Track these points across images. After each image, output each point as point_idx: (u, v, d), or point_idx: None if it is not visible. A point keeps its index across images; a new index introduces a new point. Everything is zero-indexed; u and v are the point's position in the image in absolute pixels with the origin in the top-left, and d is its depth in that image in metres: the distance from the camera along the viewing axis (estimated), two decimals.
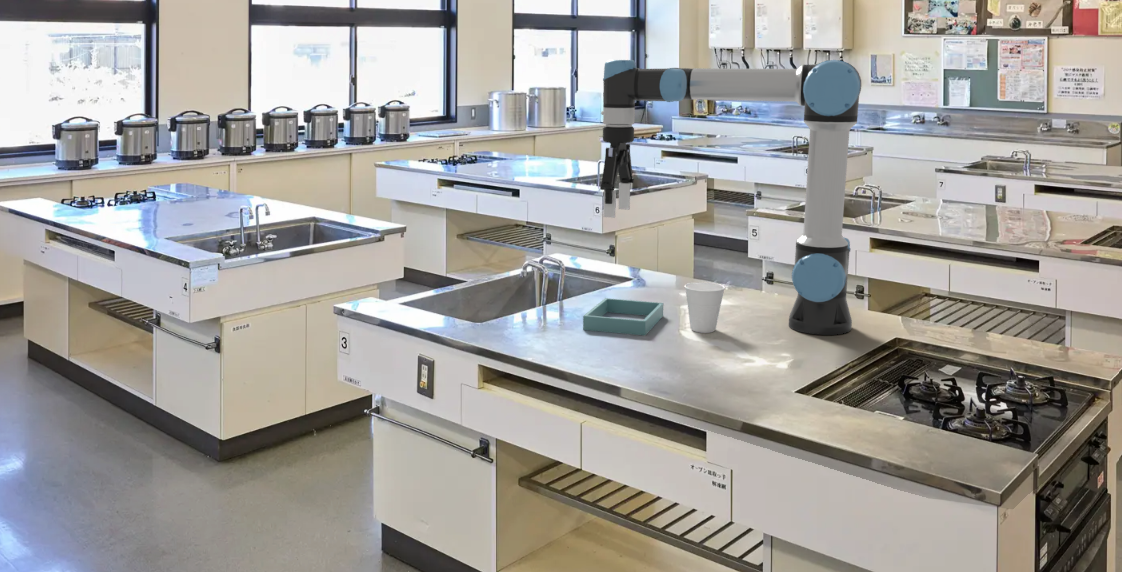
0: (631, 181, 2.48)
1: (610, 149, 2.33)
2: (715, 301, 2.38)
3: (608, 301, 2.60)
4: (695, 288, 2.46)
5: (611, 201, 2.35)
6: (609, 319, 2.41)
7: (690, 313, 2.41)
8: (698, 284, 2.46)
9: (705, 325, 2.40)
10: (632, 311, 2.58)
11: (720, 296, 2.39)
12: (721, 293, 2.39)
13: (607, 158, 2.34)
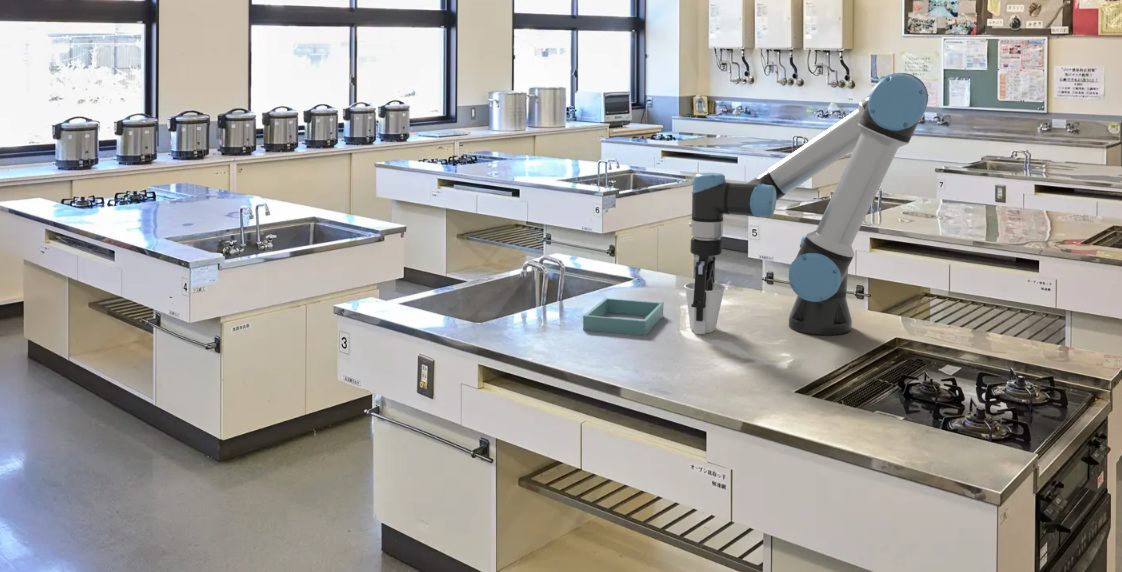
0: None
1: (700, 268, 2.34)
2: (715, 301, 2.38)
3: (608, 301, 2.60)
4: None
5: (702, 318, 2.37)
6: (609, 319, 2.41)
7: (690, 313, 2.41)
8: None
9: None
10: (632, 311, 2.58)
11: (720, 296, 2.39)
12: (721, 293, 2.39)
13: (697, 276, 2.35)
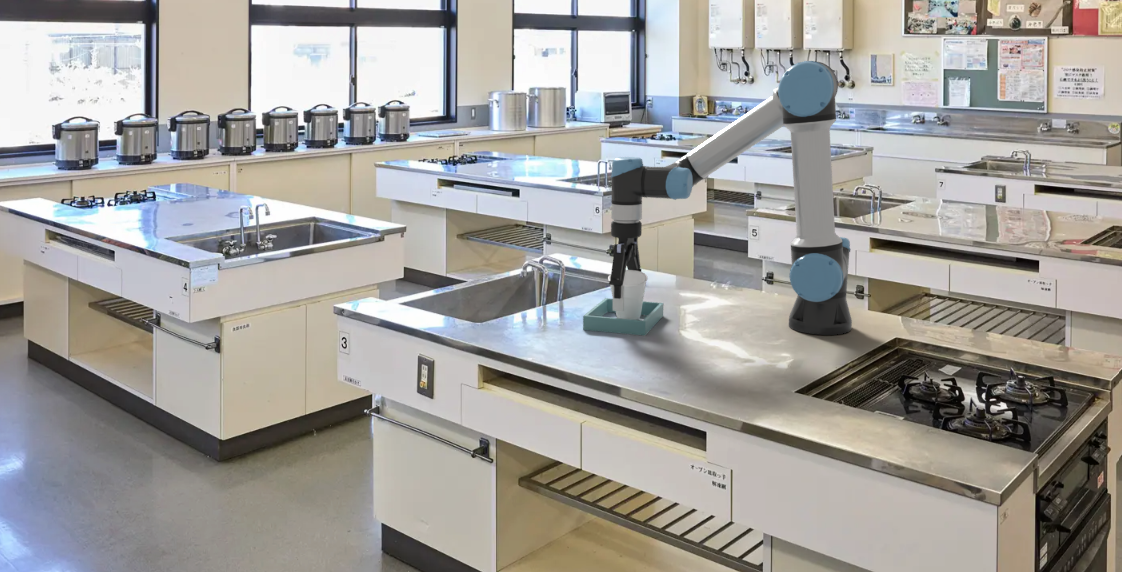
0: None
1: (619, 245, 2.39)
2: (638, 293, 2.46)
3: (608, 301, 2.60)
4: None
5: (620, 296, 2.40)
6: (609, 319, 2.41)
7: None
8: None
9: (630, 315, 2.49)
10: None
11: (643, 288, 2.47)
12: (643, 285, 2.47)
13: (616, 254, 2.39)
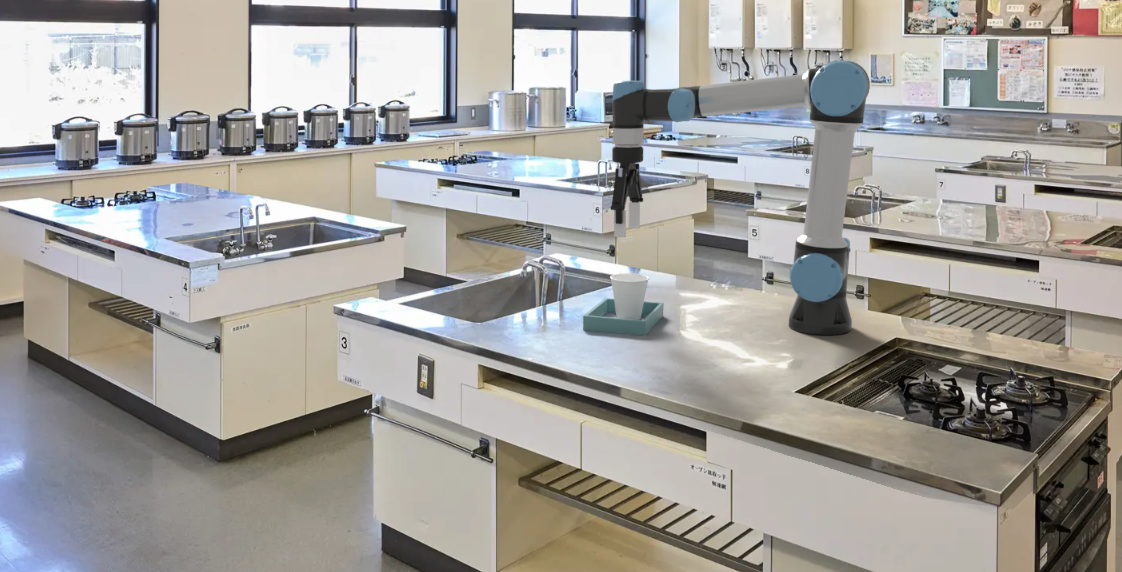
0: (641, 200, 2.50)
1: (620, 169, 2.35)
2: (639, 291, 2.48)
3: (608, 301, 2.60)
4: (621, 279, 2.55)
5: (621, 221, 2.36)
6: (609, 319, 2.41)
7: (616, 303, 2.51)
8: (624, 275, 2.55)
9: (630, 314, 2.50)
10: None
11: (644, 286, 2.49)
12: (645, 283, 2.49)
13: (617, 178, 2.35)
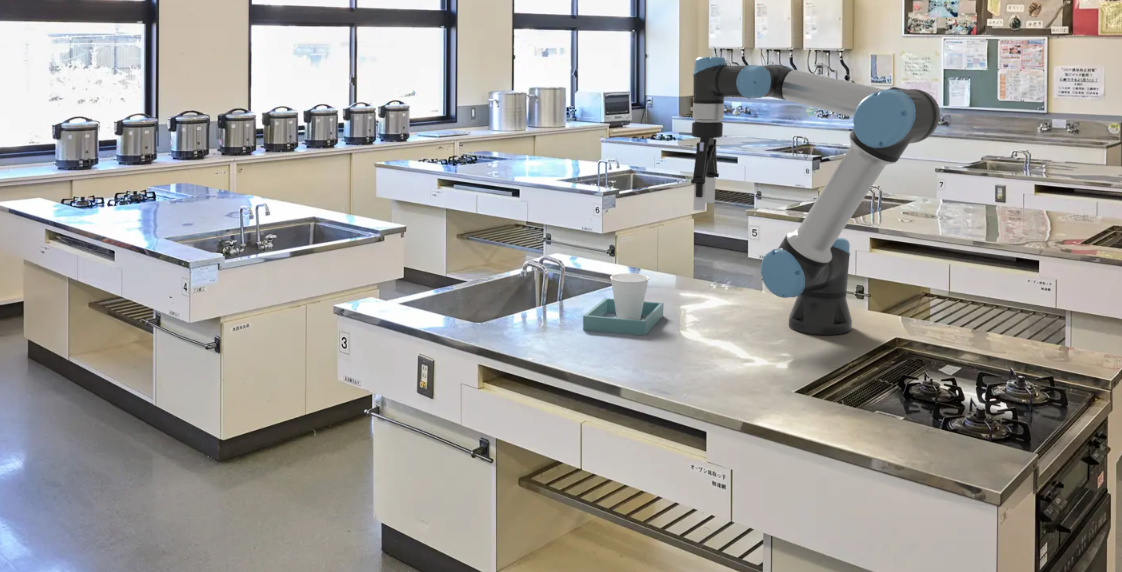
0: (716, 175, 2.54)
1: (701, 144, 2.40)
2: (639, 291, 2.48)
3: (608, 301, 2.60)
4: (621, 279, 2.55)
5: (701, 194, 2.41)
6: (609, 319, 2.41)
7: (616, 303, 2.51)
8: (624, 275, 2.55)
9: (630, 314, 2.50)
10: None
11: (644, 286, 2.49)
12: (645, 284, 2.49)
13: (698, 153, 2.40)
